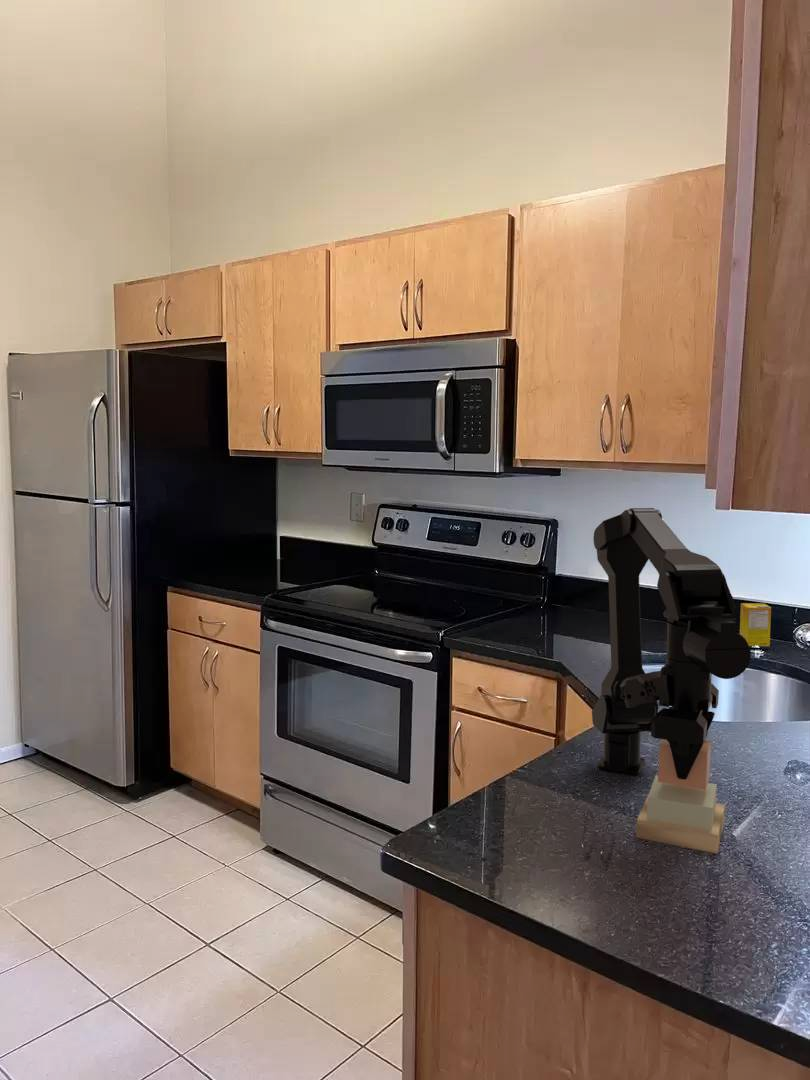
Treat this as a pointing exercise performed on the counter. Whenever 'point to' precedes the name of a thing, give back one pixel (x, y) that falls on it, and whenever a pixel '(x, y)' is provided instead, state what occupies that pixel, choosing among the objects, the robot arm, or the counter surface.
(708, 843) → the tower base
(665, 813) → the tower top
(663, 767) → the terracotta brick
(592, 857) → the counter surface
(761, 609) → the supplement box
